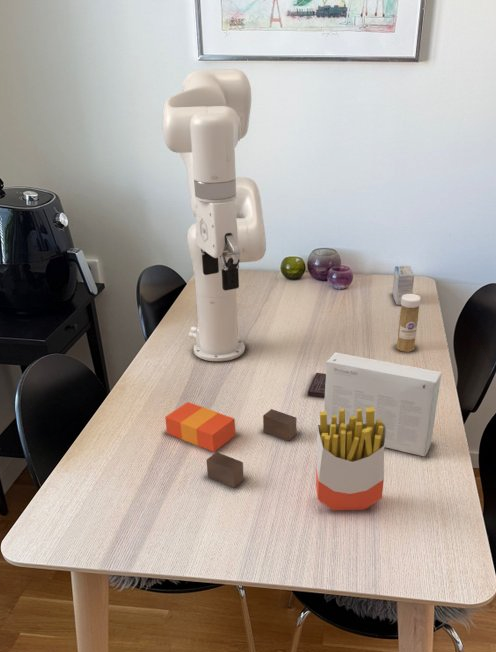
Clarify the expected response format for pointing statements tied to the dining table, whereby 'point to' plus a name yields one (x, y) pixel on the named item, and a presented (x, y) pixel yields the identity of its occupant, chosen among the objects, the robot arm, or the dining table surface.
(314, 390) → the chocolate bar
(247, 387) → the dining table surface
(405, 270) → the medicine box
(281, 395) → the dining table surface
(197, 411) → the orange packet
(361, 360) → the skincare box
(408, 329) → the sprinkles bottle
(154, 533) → the dining table surface
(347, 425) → the french fries container
